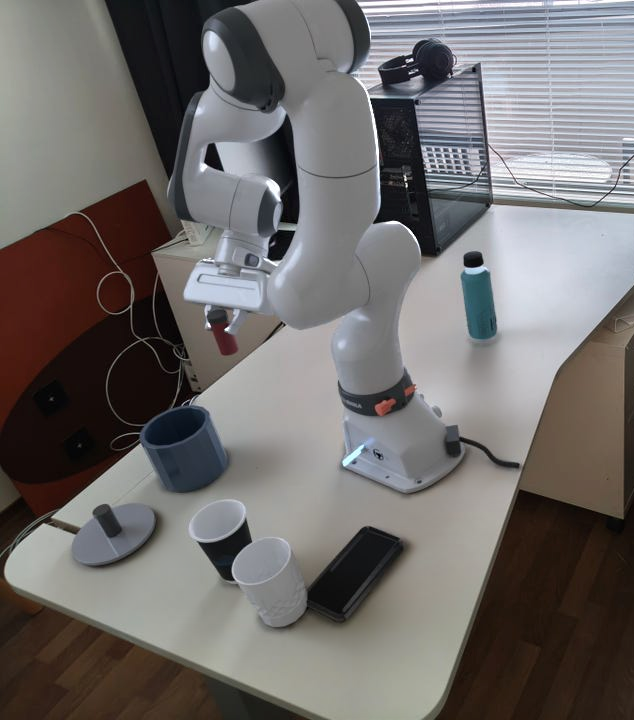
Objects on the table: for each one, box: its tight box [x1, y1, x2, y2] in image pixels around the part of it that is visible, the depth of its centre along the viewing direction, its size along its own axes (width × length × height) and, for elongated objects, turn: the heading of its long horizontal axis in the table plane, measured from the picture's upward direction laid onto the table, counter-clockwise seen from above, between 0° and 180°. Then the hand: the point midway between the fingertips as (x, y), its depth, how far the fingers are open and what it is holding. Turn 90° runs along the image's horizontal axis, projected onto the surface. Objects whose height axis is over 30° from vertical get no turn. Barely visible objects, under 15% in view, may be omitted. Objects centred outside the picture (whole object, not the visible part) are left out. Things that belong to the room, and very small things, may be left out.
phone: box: [306, 525, 405, 623], centre depth 100 cm, size 8×1×15 cm
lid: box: [71, 502, 157, 566], centre depth 110 cm, size 13×13×6 cm
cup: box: [139, 404, 228, 493], centre depth 121 cm, size 12×12×10 cm
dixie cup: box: [188, 499, 253, 585], centre depth 100 cm, size 8×8×11 cm
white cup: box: [232, 536, 308, 628], centre depth 94 cm, size 8×8×10 cm
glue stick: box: [205, 309, 240, 357], centre depth 128 cm, size 4×4×8 cm
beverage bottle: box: [460, 250, 498, 341], centre depth 145 cm, size 6×7×20 cm
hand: (220, 332), depth 127 cm, fingers closed on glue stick, 3 cm apart
